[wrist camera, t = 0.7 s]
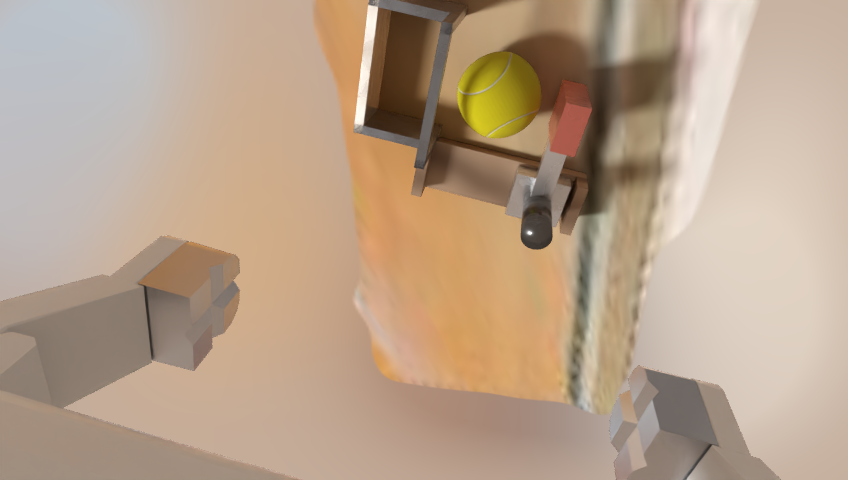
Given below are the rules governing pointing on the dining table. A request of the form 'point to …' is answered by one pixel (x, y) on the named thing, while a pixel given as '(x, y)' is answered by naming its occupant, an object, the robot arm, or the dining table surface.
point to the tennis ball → (499, 94)
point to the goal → (369, 118)
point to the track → (489, 177)
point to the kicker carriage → (550, 169)
